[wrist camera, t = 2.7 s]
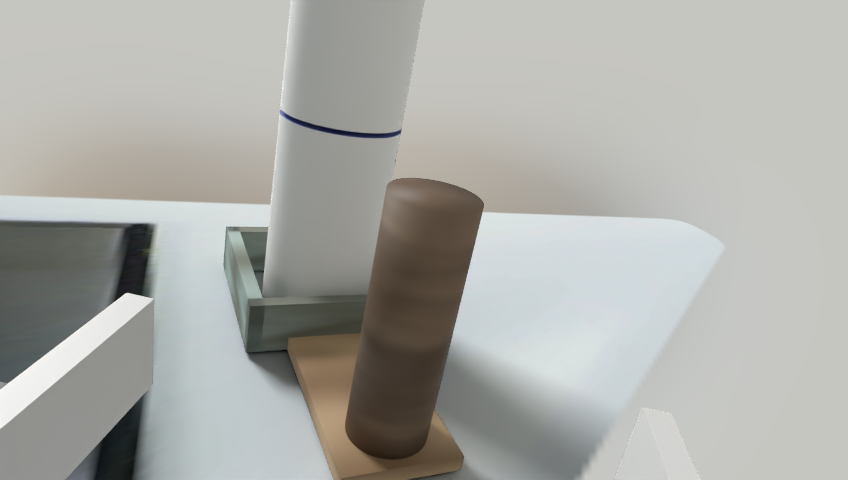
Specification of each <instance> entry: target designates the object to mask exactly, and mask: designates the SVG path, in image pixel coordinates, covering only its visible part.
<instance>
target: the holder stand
mask: <svg viewBox="0 0 848 480" xmlns="http://www.w3.org/2000/svg"><path fill="white" fill-rule="evenodd" d="M483 208H484V203H483V201H482V200H481V199H480V198H479V197H478V196H476V195H475V194H473V193H472V192H470V191H468V190H465V189H463V188H460V187H458V186H455V185H451V184H448V183H444V182H440V181H435V180H429V179H421V178H401V179H396V180H393V181H390V182H389V183H388V184H387V187H386V192H385V198H384V204H383V209H382V215H381V221H380V227H379V232H378V238H377V244H376V249H375V255H374V261H373V266H372V272H371V278H370V284H369V289H368V294H364V295H336V296H308V297H280V298H263V297H262V294H261V292H260V289H259V286H258V283H257V280H256V277H255V274H254V271H253V270H264V267H265V257H266V246H267V236H268V227H226V238H225V252H224V269H225V273H226V277H227V281H228V285H229V289H230V293H231V296H232V300H233V304H234V308H235V312H236V316H237V320H238V324H239V328H240V331H241V335H242V339H243V343H244V347H245V351H246V353H247V352H260V351H274V350H288V353H289V356H290V359H291V362H292V364H293V367H294V370H295V373H296V376H297V378H298V381H299V384H300V387H301V390H302V392H303V395H304V398H305V401H306V404H307V406H308V409H309V412H310V415H311V417H312V420H313V423H314V426H315V429H316V431H317V434H318V437H319V440H320V443H321V445H322V448H323V451H324V454H325V457H326V459H327V462H328V465H329V468H330V471H331V473H332V476H333V479H334V480H408V479H414V478H419V477H424V476H430V475H435V474H441V473H446V472H451V471H457V470H461V467H462V463H463V460H464V456H463V454H462V452H461V451H460V449H459V448H458V446H457V444H456V443H455V441H454V439H453V438H452V436H451V435H450V433H449V431H448V430H447V428H446V427H445V425H444V423H443V422H442V420H441V419H440V417H439V415H438V414H437V412H436V411H435V409H434V408H435V404H436V400H437V396H438V392H439V388H440V384H441V380H442V376H443V371H444V367H445V363H446V359H447V355H448V351H449V347H450V343H451V339H452V335H453V330H454V326H455V322H456V318H457V314H458V310H459V306H460V302H461V298H462V294H463V290H464V285H465V281H466V277H467V273H468V269H469V265H470V261H471V257H472V253H473V249H474V245H475V240H476V236H477V232H478V228H479V224H480V220H481V216H482V212H483Z"/></svg>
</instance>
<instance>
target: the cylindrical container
mask: <svg viewBox="0 0 848 480" xmlns="http://www.w3.org/2000/svg"><path fill="white" fill-rule="evenodd" d="M423 5H424V0H291V3H290V13H289V23H288V34H287V44H286V54H285V65H284V74H283V85H282V95H281V105H280V108H281V110H280V116H279V125H278V136H277V146H276V155H275V165H274V177H273V186H272V196H271V206H270V216H269V226H268V236H267V246H266V257H265V267H264V277H263V287H262V297H263V298H280V297H308V296H336V295H364V294H368V289H369V284H370V278H371V272H372V266H373V261H374V255H375V249H376V244H377V238H378V232H379V227H380V221H381V215H382V209H383V204H384V198H385V192H386V187H387V184H388V183H389V182H390V181H392V179H393V173H394V167H395V162H396V156H397V151H398V146H399V140H400V134H401V128H402V123H403V117H404V112H405V106H406V101H407V94H408V89H409V84H410V78H411V73H412V67H413V62H414V56H415V50H416V44H417V39H418V33H419V27H420V22H421V17H422V11H423Z"/></svg>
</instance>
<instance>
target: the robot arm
mask: <svg viewBox="0 0 848 480" xmlns="http://www.w3.org/2000/svg"><path fill="white" fill-rule="evenodd" d="M153 337H154V299H152V298H148V297H143V296H139V295H134V294H129V293H126V294H124V295H123V296H122V297H120V298H119V299H118V300H117V301H115V302H114V303H113V304H111V305H110V306H109V307H107V308H106V309H105V310H103V311H102V312H101V313H100V314H98V315H97V316H96V317H94V318H93V319H92V320H90V321H89V322H88V323H86V324H85V325H84V326H83V327H81V328H80V329H79V330H77V331H76V332H75V333H73V334H72V335H71V336H70V337H68V338H67V339H66V340H64V341H63V342H62V343H60V344H59V345H58V346H56V347H55V348H54V349H53V350H51V351H50V352H49V353H47V354H46V355H45V356H43V357H42V358H41V359H39V360H38V361H37V362H36V363H34V364H33V365H32V366H30V367H29V368H28V369H26V370H25V371H24V372H22V373H21V374H20V375H19V376H17V377H16V378H15V379H13V380H12V381H11V382H9V383H4V382H0V480H65V479H66V478H67V477H68V476H69V475H70V474H71V473H72V472H73V470H74V469H75V468H76V467H77V466H78V465H79V464H80V463H81V462H82V461H83V460H84V458H85V457H86V456H87V455H88V454H89V453H90V452H91V451H92V450H93V449H94V448H95V446H96V445H97V444H98V443H99V442H100V441H101V440H102V439H103V438H104V437H105V436H106V434H107V433H108V432H109V431H110V430H111V429H112V428H113V427H114V426H115V425H116V424H117V422H118V421H119V420H120V419H121V418H122V417H123V416H124V415H125V414H126V413H127V412H128V410H129V409H130V408H131V407H132V406H133V405H134V404H135V403H136V402H137V401H138V400H139V398H140V397H141V396H142V395H143V394H144V393H145V392H146V391H147V390H148V389H149V388H150V386H151V385H152V384H153ZM614 480H701V479H700V477H699V475H698V472H697V470H696V468H695V466H694V463H693V461H692V459H691V456H690V454H689V452H688V450H687V447H686V445H685V443H684V441H683V438H682V436H681V434H680V432H679V429H678V427H677V425H676V423H675V420H674V418H673V416H672V414H671V413H666V412H662V411H657V410H653V409H648V408H644V407H642V409H641V411H640V414H639V416H638V419H637V421H636V424H635V427H634V429H633V432H632V434H631V437H630V440H629V442H628V444H627V447H626V449H625V452H624V455H623V457H622V460H621V462H620V465H619V467H618V470H617V472H616V475H615V477H614Z"/></svg>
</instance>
